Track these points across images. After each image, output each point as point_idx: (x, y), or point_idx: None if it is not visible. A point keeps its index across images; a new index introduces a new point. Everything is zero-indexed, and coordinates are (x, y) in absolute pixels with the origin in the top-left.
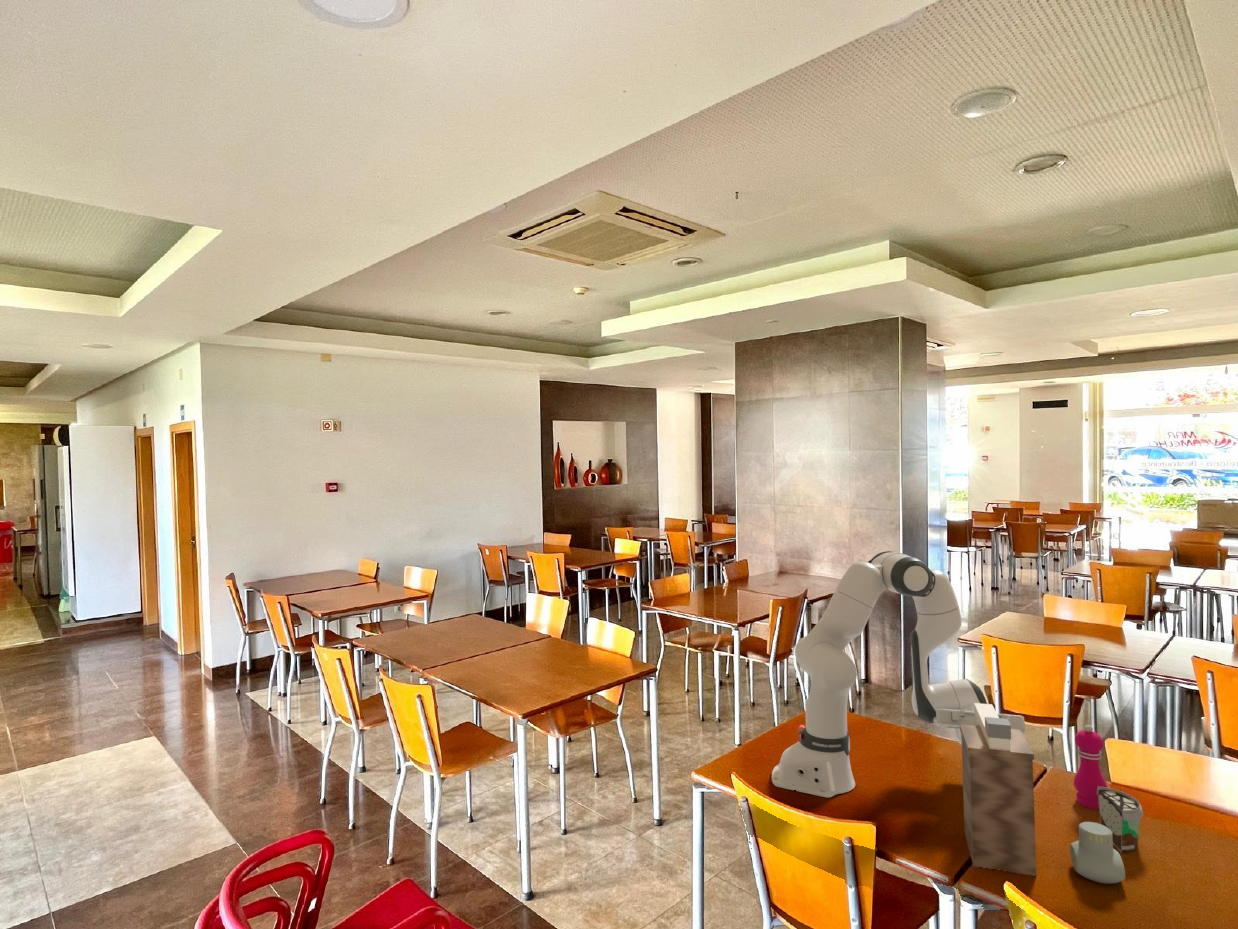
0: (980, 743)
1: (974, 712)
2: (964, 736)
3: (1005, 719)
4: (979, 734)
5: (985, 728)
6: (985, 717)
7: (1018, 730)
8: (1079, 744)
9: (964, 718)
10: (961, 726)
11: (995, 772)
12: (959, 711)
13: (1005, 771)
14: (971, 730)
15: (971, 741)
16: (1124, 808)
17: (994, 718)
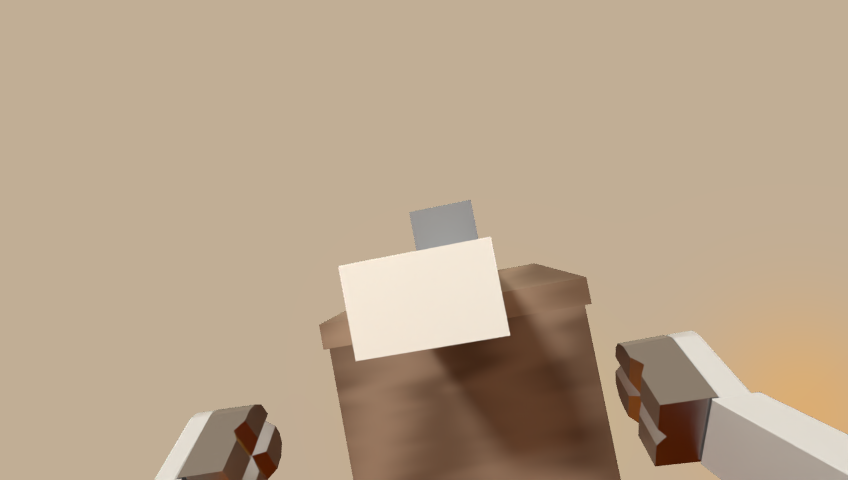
0: (501, 272)
1: (507, 324)
2: (549, 268)
3: (415, 211)
4: (499, 280)
5: (476, 232)
6: (468, 200)
7: (333, 320)
8: None
9: (641, 438)
10: (572, 275)
11: None
12: (670, 336)
13: None
14: (527, 278)
15: (526, 268)
16: None
17: (444, 205)
